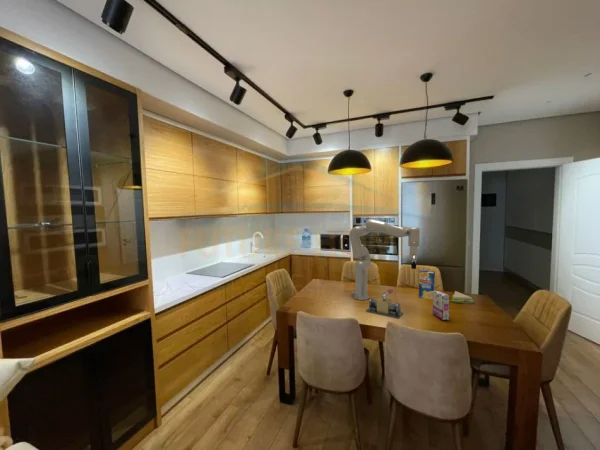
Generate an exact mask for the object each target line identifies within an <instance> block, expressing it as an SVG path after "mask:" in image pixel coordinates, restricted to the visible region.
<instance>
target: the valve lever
mask: <svg viewBox="0 0 600 450" xmlns="http://www.w3.org/2000/svg"><path fill="white" fill-rule="evenodd" d="M393 293H394V289H393V288H388V289H387V290H386V292H385V293H381V298H386V299H388V298H387V296H389V295H391V294H393Z"/></svg>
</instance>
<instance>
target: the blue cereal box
mask: <svg viewBox="0 0 600 450" xmlns="http://www.w3.org/2000/svg"><path fill="white" fill-rule="evenodd" d="M433 291H436V271H434V270H433V271H431V270H424V269H423V270H421V269H420V270H419V271H418V298H419V299H425V300H431V301H433Z"/></svg>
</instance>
